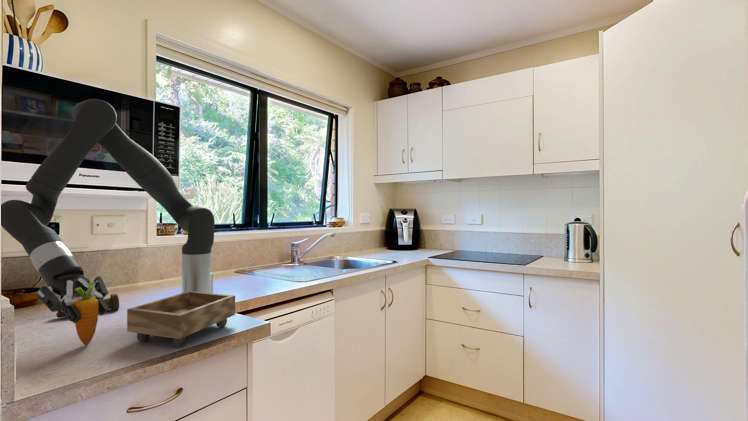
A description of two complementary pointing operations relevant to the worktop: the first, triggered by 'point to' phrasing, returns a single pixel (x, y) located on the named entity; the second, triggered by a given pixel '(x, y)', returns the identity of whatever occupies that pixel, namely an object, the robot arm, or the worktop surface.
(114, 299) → the bolt
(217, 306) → the caster cart
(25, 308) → the worktop surface
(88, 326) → the carrot
